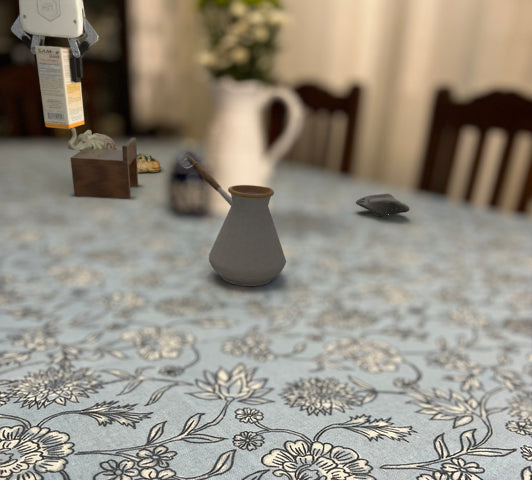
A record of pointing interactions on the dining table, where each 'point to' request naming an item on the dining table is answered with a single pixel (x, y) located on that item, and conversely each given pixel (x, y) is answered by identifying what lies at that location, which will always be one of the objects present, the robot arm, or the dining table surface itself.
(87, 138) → the figurine
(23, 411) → the dining table surface
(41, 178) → the dining table surface
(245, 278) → the coffee pot
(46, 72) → the supplement box
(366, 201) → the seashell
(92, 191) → the dark wooden step block
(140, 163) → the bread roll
